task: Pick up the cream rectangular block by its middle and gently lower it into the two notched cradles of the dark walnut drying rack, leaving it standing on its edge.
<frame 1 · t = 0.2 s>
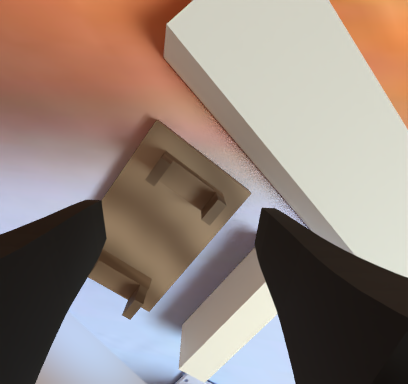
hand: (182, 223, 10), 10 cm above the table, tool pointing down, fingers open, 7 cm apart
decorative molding: (333, 169, 21), on the table
walnut rack: (154, 223, 21), on the table
cream rectangular block: (232, 288, 24), on the table
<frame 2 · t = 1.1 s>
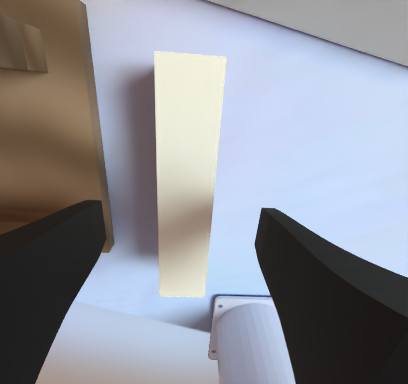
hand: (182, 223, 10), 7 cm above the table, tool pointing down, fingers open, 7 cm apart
walnut rack: (28, 144, 15), on the table
cream rectangular block: (188, 173, 17), on the table
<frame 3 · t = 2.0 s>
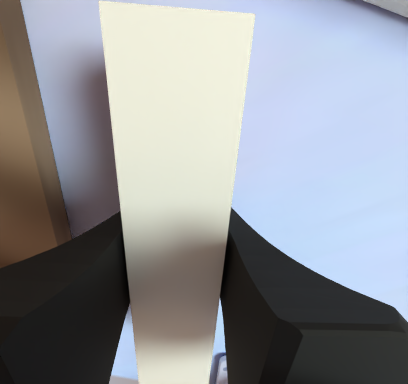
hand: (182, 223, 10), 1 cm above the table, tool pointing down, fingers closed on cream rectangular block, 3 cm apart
cream rectangular block: (184, 206, 12), on the table, touching gripper
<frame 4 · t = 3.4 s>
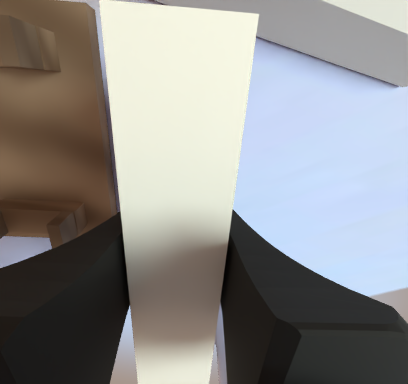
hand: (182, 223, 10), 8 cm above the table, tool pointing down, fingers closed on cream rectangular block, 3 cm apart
walnut rack: (40, 138, 17), on the table
cream rectangular block: (184, 207, 12), point 7 cm above the table, touching gripper
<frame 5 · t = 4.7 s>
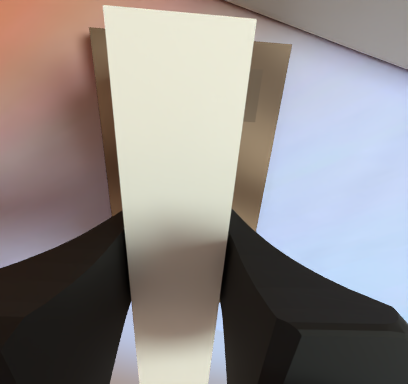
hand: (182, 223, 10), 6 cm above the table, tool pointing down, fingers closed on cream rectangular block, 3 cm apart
walnut rack: (187, 178, 15), on the table
cream rectangular block: (184, 206, 12), point 4 cm above the table, touching gripper
when the fingers open (5 cm above the table, at t = 5.1 s): cream rectangular block stays where it is, resting on walnut rack.
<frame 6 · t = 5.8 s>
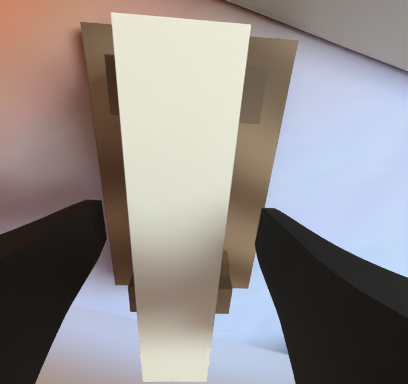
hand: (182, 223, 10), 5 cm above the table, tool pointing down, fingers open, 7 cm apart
walnut rack: (187, 182, 15), on the table
cream rectangular block: (184, 202, 12), point 3 cm above the table, touching walnut rack
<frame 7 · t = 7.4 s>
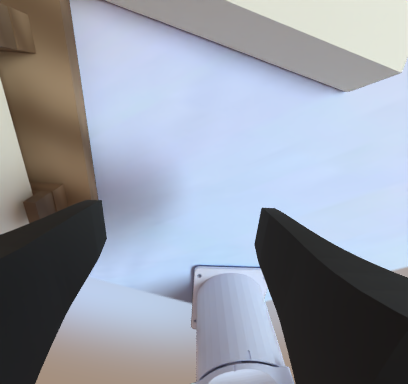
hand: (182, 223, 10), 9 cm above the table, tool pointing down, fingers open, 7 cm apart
walnut rack: (20, 121, 17), on the table
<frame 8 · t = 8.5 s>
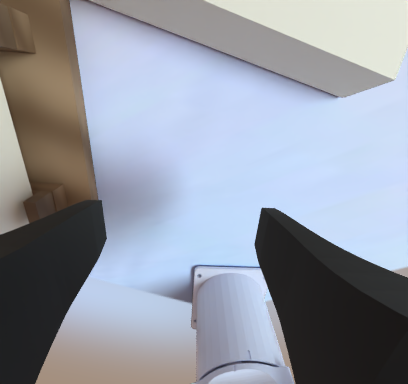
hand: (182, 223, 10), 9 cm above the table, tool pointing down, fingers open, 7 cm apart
walnut rack: (20, 121, 17), on the table
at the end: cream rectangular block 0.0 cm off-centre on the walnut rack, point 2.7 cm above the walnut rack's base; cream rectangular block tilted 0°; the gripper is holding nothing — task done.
